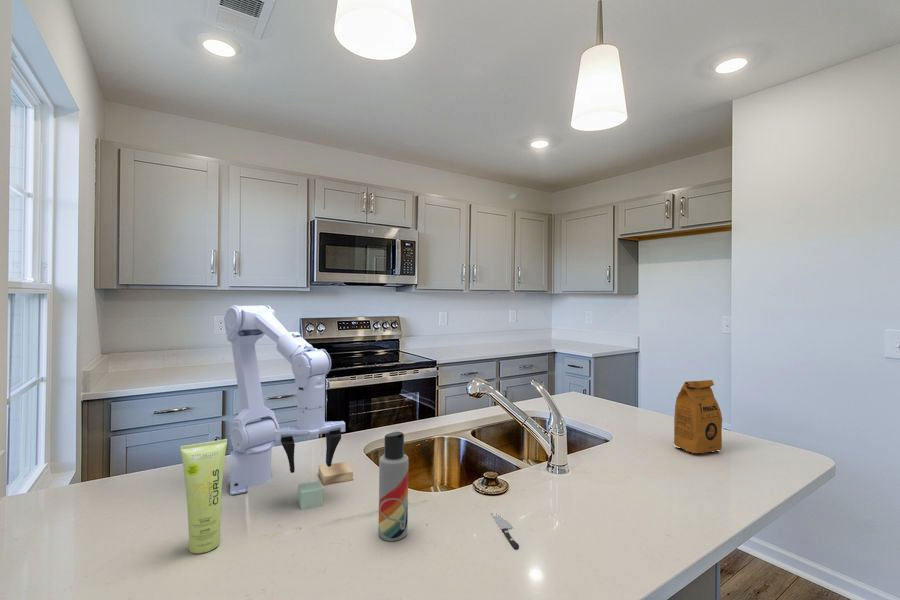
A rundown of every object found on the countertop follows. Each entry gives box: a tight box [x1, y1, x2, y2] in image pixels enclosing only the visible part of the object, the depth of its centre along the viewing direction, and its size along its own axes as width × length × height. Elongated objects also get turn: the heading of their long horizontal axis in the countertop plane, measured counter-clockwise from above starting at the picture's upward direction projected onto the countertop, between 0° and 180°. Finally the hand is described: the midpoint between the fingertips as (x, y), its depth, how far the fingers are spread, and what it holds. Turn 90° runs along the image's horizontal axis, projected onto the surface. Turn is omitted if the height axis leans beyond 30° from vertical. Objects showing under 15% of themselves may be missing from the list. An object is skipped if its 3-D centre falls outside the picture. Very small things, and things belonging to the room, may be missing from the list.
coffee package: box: [673, 379, 723, 454], centre depth 134 cm, size 10×12×22 cm
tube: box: [179, 438, 228, 554], centre depth 79 cm, size 6×5×20 cm
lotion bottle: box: [378, 431, 409, 542], centre depth 85 cm, size 6×6×20 cm
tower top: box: [318, 461, 354, 486], centre depth 107 cm, size 7×7×2 cm
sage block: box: [297, 480, 324, 511], centre depth 94 cm, size 4×4×5 cm
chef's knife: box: [490, 513, 520, 550], centre depth 90 cm, size 19×1×3 cm
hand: (310, 468), depth 94 cm, fingers open, 7 cm apart
